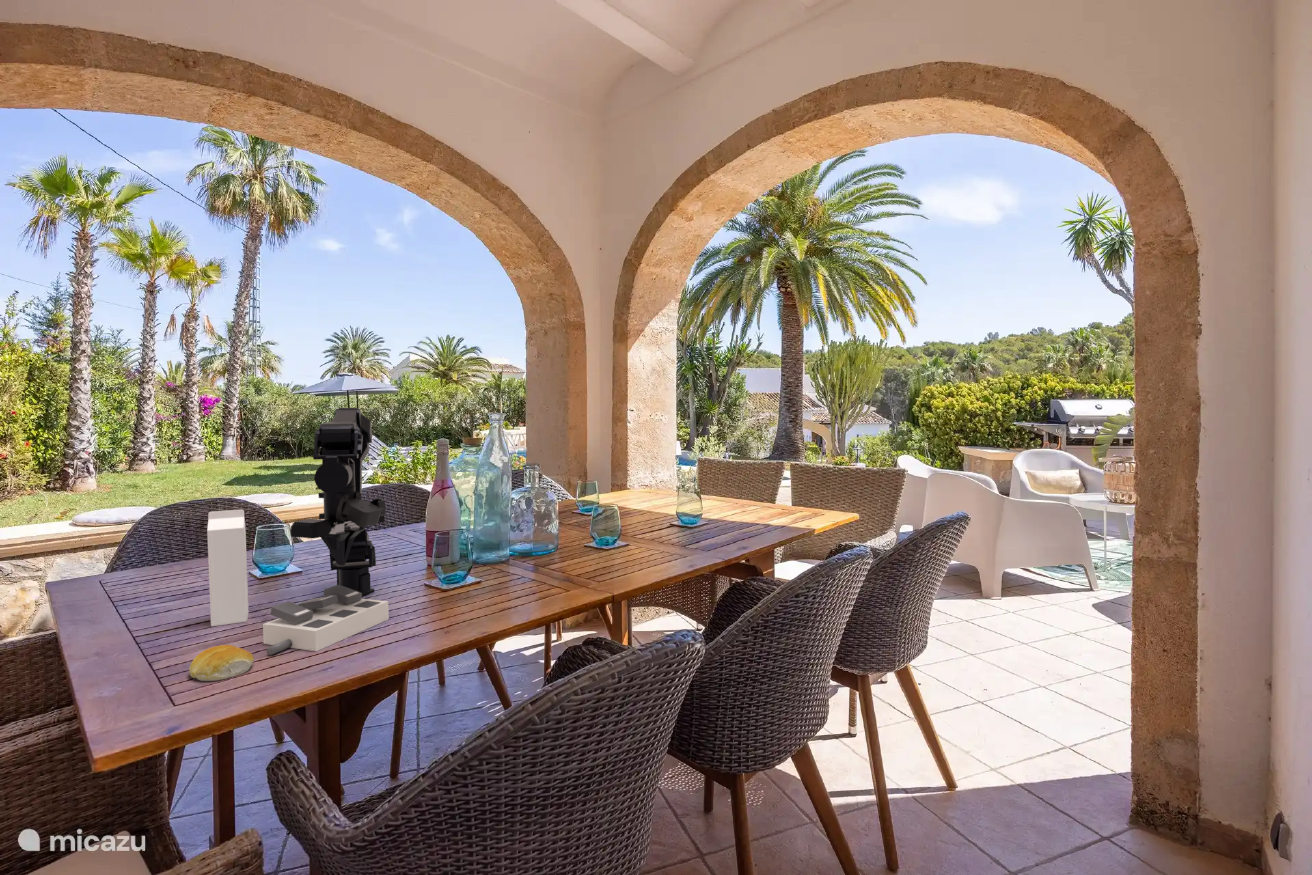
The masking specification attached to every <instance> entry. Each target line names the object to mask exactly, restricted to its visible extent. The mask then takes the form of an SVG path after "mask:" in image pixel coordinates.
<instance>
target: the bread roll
mask: <svg viewBox="0 0 1312 875" xmlns="http://www.w3.org/2000/svg"><path fill="white" fill-rule="evenodd" d="M254 661H255V660H254V655H253V654H252V653H251V652H250V651H248V650H246V649H244V648H241V647H237V646H235V645H231V644H221V645H216V646H215V645H214V646H212V647H209V648H206V649H204V650H203V651H201V652H200V653H198V654H197V655H196V656H195V657H194V658H193V659H192V661H191V663H190V665H189V667H188V673H189V676H190V677H191V678H193V679H196V680H199V681H202V682H216V681H222V680H226V679H227V680H228V679H230V678H233V677H236V676H240V675H242V674H244V673H246V672H248V671H249V670H250V668H251V667H252V665H253V664H254Z"/></svg>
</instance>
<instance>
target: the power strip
mask: <svg viewBox="0 0 1312 875" xmlns="http://www.w3.org/2000/svg"><path fill="white" fill-rule="evenodd" d="M311 610H312V611H313V617H312V619H309V620H306V621H304V622H301V623H299V624H293V623H291V622H288V621H286V620H283V619H281V618H278V617H277V618H275V619H274V620H270V621H267V622H265V623H263V624H262V634H263V635H262V636H263V637H262V638H263V644H264V645H270V646H268V647H266V650H265V651H266V654H267V655H268V656H273V655H274V654H277V653H279V652H282V651H284V650H286V649H298V650H303V651H311V652H318V651H321V650H322V649H326V648H328V647H329V646H332V645H334V644H336V643H339V642H341V641H342V640H345V639H348V638H349V637H352V636H354V635H356V634H359V633H361V632H363V631H365V630H368V629H370V628H372V627H375V626H376V625H379V624H381V623H384V622H385V621H389V618H390V617H389V613H390V612H389V601H387V600H378V599H377V600H376V599H370V598H369V599H368V598H362V597H361V600H359V601H356V602H354V603H351V604H348V605H346V604H344V603H341V602H338V603H335V604H332V605H329V606H327V607H324V608H318V609H311Z"/></svg>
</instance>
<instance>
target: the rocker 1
mask: <svg viewBox="0 0 1312 875" xmlns="http://www.w3.org/2000/svg"><path fill="white" fill-rule="evenodd" d="M270 615H271V616H274V617H276V618H277V619H278V618H281V619H283V620H286V621H288V622H291V623H293V624H299V623H301V622H304V621H306V620H309V619H312V617H313V611H312V610H309V609H307V608H304V607H302V606H299V605H298V604H296V603H294V602H291V601H286V602H282V603H279V604H277V605H274V606H271V609H270Z"/></svg>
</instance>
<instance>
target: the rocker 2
mask: <svg viewBox="0 0 1312 875" xmlns="http://www.w3.org/2000/svg"><path fill="white" fill-rule="evenodd" d="M334 595H337V598H338V602H341V603H344V604H346V605H348V604H351V603H354V602H356V601H359V600H361V598H362V596H363V595H362V593H360V592H358V591H355V590H352V589H349V588H347V587H344V586H341V585H337V584H336V585H333V586H330V587H327V588H324V590H323V597H327V596H334Z"/></svg>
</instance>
